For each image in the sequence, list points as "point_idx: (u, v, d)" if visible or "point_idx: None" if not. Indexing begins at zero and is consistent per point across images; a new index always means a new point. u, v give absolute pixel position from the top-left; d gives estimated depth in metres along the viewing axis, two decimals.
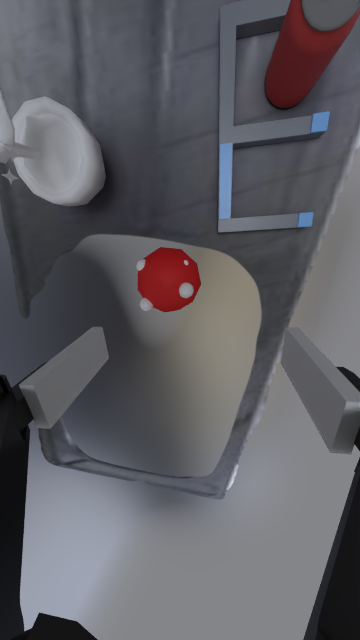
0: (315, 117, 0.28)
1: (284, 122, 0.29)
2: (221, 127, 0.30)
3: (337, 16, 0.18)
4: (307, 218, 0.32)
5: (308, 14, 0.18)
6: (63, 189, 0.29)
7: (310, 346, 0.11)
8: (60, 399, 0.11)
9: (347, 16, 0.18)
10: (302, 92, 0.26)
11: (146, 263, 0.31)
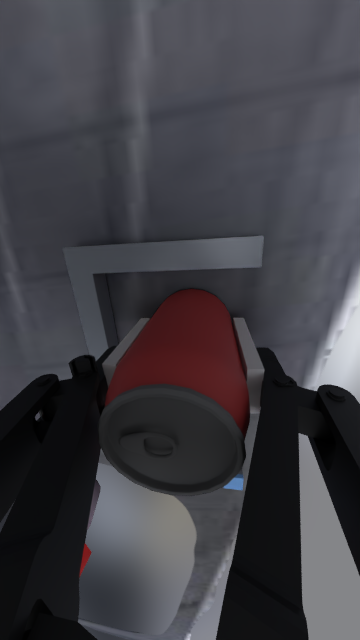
0: None
1: None
2: None
3: (185, 475, 0.08)
4: (235, 482, 0.22)
5: (122, 469, 0.08)
6: None
7: (244, 331, 0.13)
8: None
9: (204, 485, 0.08)
10: None
11: None
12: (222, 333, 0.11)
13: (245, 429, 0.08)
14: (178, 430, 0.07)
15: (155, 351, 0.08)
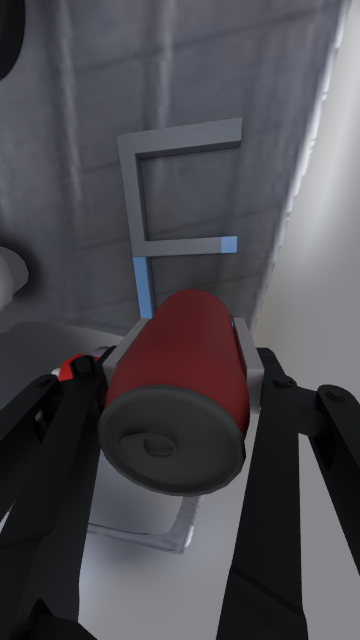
0: (223, 240, 0.27)
1: (194, 241, 0.28)
2: (132, 241, 0.29)
3: (185, 476, 0.08)
4: None
5: (122, 470, 0.08)
6: None
7: (244, 331, 0.13)
8: None
9: (205, 486, 0.08)
10: None
11: (59, 376, 0.30)
12: (222, 334, 0.11)
13: (245, 430, 0.08)
14: (179, 430, 0.07)
15: (155, 352, 0.08)
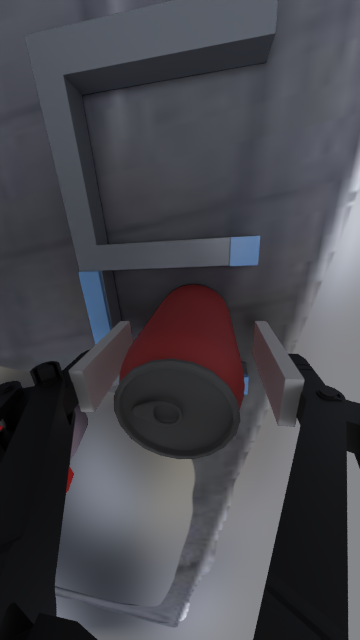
0: (235, 243, 0.15)
1: (182, 245, 0.16)
2: (77, 245, 0.17)
3: (188, 441, 0.10)
4: None
5: (134, 436, 0.10)
6: None
7: (271, 336, 0.12)
8: (100, 386, 0.12)
9: (205, 449, 0.10)
10: None
11: None
12: (220, 321, 0.12)
13: (240, 400, 0.09)
14: (183, 399, 0.09)
15: (163, 334, 0.09)
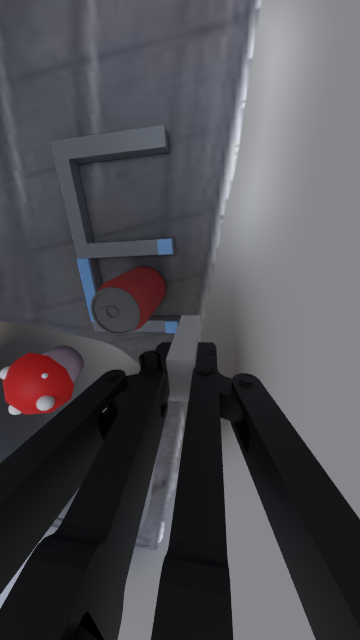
0: (159, 242, 0.28)
1: (133, 243, 0.29)
2: (75, 243, 0.30)
3: (123, 327, 0.23)
4: (172, 326, 0.32)
5: (100, 325, 0.23)
6: None
7: (194, 328, 0.14)
8: None
9: (129, 330, 0.23)
10: None
11: (7, 374, 0.31)
12: (144, 280, 0.25)
13: (143, 307, 0.22)
14: (118, 305, 0.22)
15: (111, 280, 0.23)
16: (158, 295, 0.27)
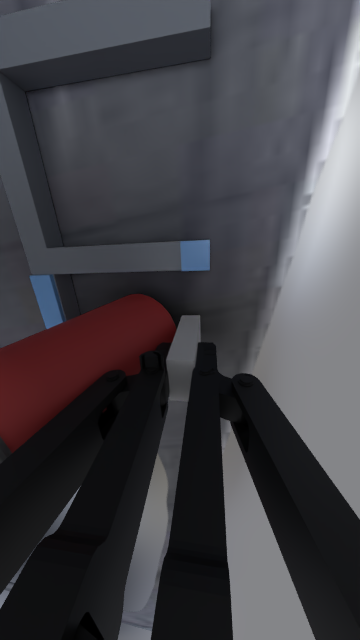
0: (184, 248, 0.14)
1: (133, 249, 0.15)
2: (27, 248, 0.16)
3: None
4: None
5: None
6: None
7: (194, 327, 0.14)
8: None
9: None
10: None
11: None
12: (91, 349, 0.11)
13: None
14: None
15: None
16: None
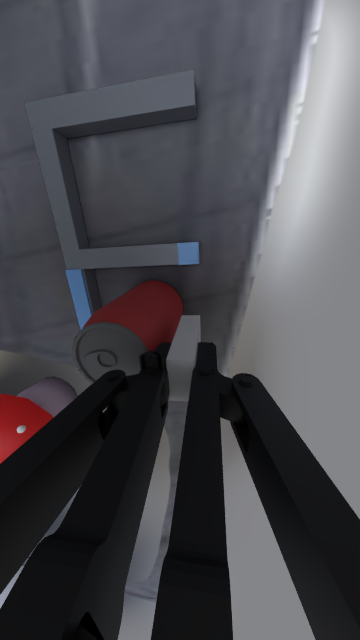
0: (180, 248, 0.20)
1: (143, 249, 0.21)
2: (64, 249, 0.22)
3: None
4: None
5: (87, 377, 0.15)
6: None
7: (194, 327, 0.14)
8: None
9: None
10: None
11: None
12: (157, 304, 0.17)
13: None
14: (116, 350, 0.14)
15: (106, 308, 0.14)
16: (175, 324, 0.19)
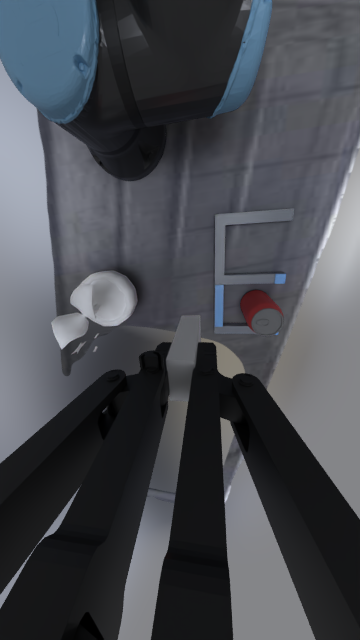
0: (277, 276, 0.43)
1: (257, 276, 0.44)
2: (216, 275, 0.45)
3: (268, 331, 0.38)
4: None
5: (254, 330, 0.38)
6: (111, 319, 0.44)
7: (194, 327, 0.14)
8: None
9: (273, 333, 0.38)
10: None
11: None
12: (274, 302, 0.40)
13: None
14: (269, 318, 0.37)
15: (263, 303, 0.38)
16: None
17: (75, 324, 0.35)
